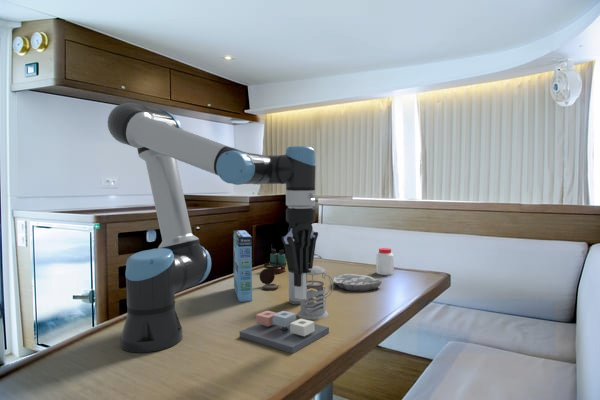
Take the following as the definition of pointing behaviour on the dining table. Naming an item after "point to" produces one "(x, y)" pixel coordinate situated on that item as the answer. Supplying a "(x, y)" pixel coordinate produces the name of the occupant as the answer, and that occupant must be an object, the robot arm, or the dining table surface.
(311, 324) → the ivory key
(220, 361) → the dining table surface
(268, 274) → the compass
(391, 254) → the pill bottle
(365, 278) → the brain slice
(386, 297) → the dining table surface
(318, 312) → the french press
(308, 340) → the keyboard base
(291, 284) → the travel mug
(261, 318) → the pink cube
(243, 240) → the gum box
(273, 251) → the binoculars
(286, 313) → the grey key
